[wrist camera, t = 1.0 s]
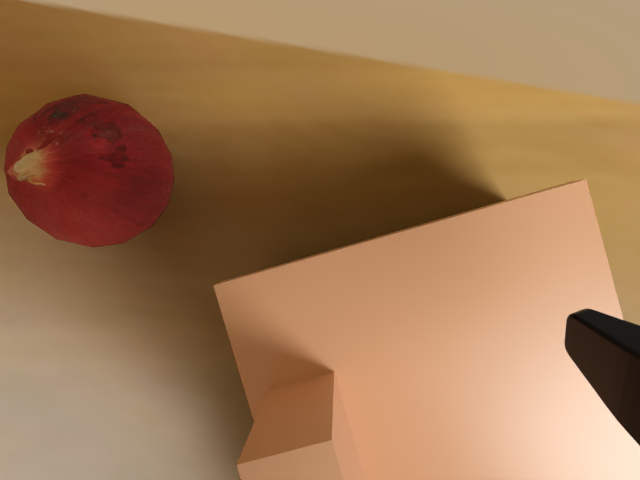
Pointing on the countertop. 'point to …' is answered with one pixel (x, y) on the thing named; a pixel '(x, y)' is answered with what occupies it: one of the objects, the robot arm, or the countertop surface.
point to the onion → (89, 171)
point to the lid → (432, 352)
